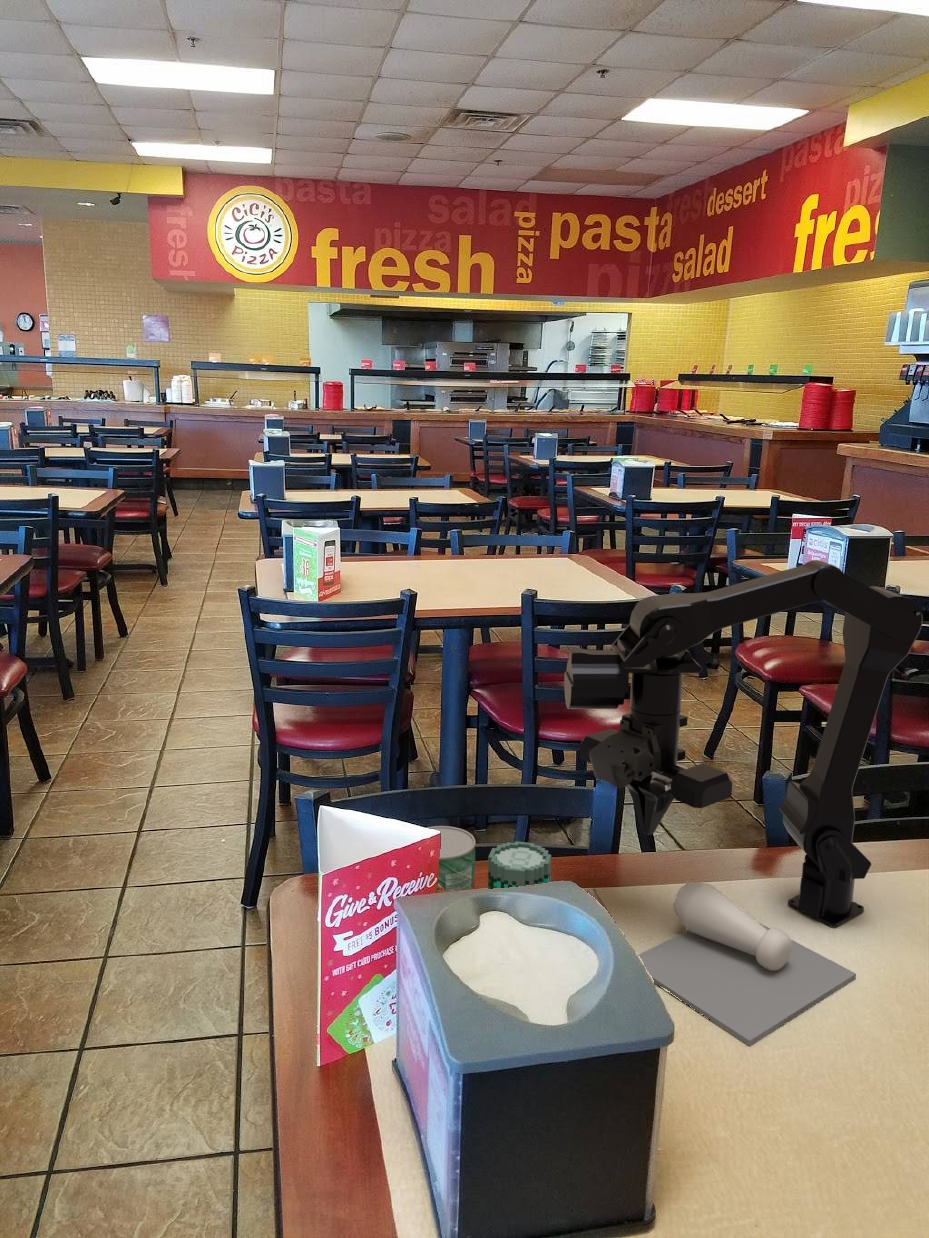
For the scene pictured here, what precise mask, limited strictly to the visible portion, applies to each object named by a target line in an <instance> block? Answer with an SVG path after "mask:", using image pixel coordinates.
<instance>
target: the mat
mask: <svg viewBox="0 0 929 1238" xmlns="http://www.w3.org/2000/svg"><path fill="white" fill-rule="evenodd" d="M757 922H758V923H759V924H761V925H762V926H763V927H764V928H766V929H767V930H769V929H771V928H770V927H768V926H767V925H764V924H762V923H760V922H759V921H757ZM791 941H792V950H791V953H790V956H789V958H788V960H787V962H786V963H785V965H784V966H783V967H782V968H780V969H779V970H776V971H770V970H768V969H765V968H764V967H762V966H761V965H760V964H759V963H758V961H757V960H756V956H754V955H751V954H748V953H746V952H743V951H740V950H738V949H735V948H732V947H729V946H727V945H724V944H721V943H718V942H716V941H713V940H710V939H708V938H705V937H702V936H699V935H697V934H694V933H691V932H689V931H688V930H686V931H684V932H681V933H680V934H678V935H676V936H673V937H672V938H670V939H667V940H665V941H664V942H661V943H660V944H658V945H655V946H653V947H652V948H649V949H647V950H645V951H643V952H641V953H639V954H637V955H638V956H640V958H641V959H642V961H643V963H644V966H645V967H646V969H647V971H648V972H649V974H650V975H651V976H652V978H653V980H654V983H653V984H654V985H656V986H657V987H659V986H661V987H663V988H665V989H667V990H668V991H670V993H672V994H673V995H675V996H676V997H678V998H679V999H680V1000H682V1001H683V1002H684V1003H686V1004H687V1005H689V1006H691V1007H692V1008H693V1009H695V1010H696V1011H695V1010H694V1011H695V1012H696V1013H698V1012H699V1013H698V1014H700V1015H701V1014H703V1015H704V1016H705V1017H704V1016H703V1015H702V1016H703V1017H704V1018H706V1017H707V1018H708V1019H707V1018H706V1019H707V1020H709V1019H710V1020H709V1021H711V1022H712V1023H713V1024H715V1025H716V1026H718V1027H719V1028H721V1029H723V1031H726V1032H727V1033H729V1034H730V1035H731V1036H733V1037H734V1038H736V1039H737V1040H738V1041H740V1042H742V1043H743V1044H745V1045H746V1046H748V1047H751V1046H752V1045H754V1044H755V1043H757V1042H759V1041H760V1040H761V1039H763V1038H765V1037H766V1036H768V1035H769V1034H771V1033H773V1032H774V1031H776V1030H778V1029H779V1028H780V1027H782V1026H783V1025H785V1024H787V1023H788V1022H790V1021H792V1020H793V1019H795V1018H796V1017H797V1016H799V1015H801V1014H802V1013H804V1012H805V1011H807V1010H809V1009H810V1008H812V1007H813V1006H816V1005H817V1004H818V1003H819V1002H821V1001H823V1000H824V999H826V998H827V997H829V996H830V995H832V994H834V993H835V992H837V991H838V990H840V989H841V988H843V987H844V986H846V985H848V984H849V983H851V982H853V981H854V980H856V977H857V973H856V972H854V971H852V970H850V969H848V968H846V967H844V966H842V965H841V964H838V963H836V962H835V961H833V960H831V959H829V958H828V957H825V956H823V955H822V954H819V953H818V952H816V951H814V950H812V949H810V948H808V947H806V946H805V945H802V944H800V943H798V942H797V941H795V940H793V939H791ZM657 984H658V985H659V986H658V985H657ZM680 1000H679V1001H680ZM683 1002H682V1003H683ZM684 1003H683V1004H684ZM686 1004H685V1005H686ZM687 1005H686V1006H687ZM689 1006H688V1007H689ZM692 1008H691V1009H692Z"/></svg>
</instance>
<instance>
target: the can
mask: <svg viewBox="0 0 929 1238" xmlns="http://www.w3.org/2000/svg"><path fill="white" fill-rule="evenodd" d="M535 844H536V843H533V842H526V841H525V842H523V841H517V840H516V841H515V842H508V841H507V842H506V843H502V844H497V846H496V847H492V848H491V851H490V853H489V855H488V858H487V860H488V861H487V865H488V866H487V867H488V869H487V874H488V875H487V887H488V888H487V890H488V889H493V888H509V887H518V886H526V885H534V884H542V883H548V882H551V883H552V880H551V875H552V874H551V873H552V854H549V850H548V849H546V848H545V847H543V846H542V845H535Z"/></svg>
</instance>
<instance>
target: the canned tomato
mask: <svg viewBox="0 0 929 1238" xmlns="http://www.w3.org/2000/svg"><path fill="white" fill-rule="evenodd" d="M426 828H429V829H436V830H439V831H440V833H441V849H440V857H439V877H438V886H437V889H436V892H448V891H457V890H467V889H475V890H476V843H477V842H476V839H475V837H474V835H473V834H472V833H470V832H469V831H467V830H465V829H463V828H458V827H455V826H448V825H435V826H427V827H426Z"/></svg>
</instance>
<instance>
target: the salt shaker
mask: <svg viewBox="0 0 929 1238" xmlns="http://www.w3.org/2000/svg"><path fill="white" fill-rule="evenodd" d="M672 907H673V910H674V914H675V916H676V917H677V919H678V920H679V921H680V923H681V924H682V925H683V927H684V928H685V929H686V931H689V932H691V933H694V934H697V935H699V936H702V937H705V938H708V939H710V940H713V941H716V942H718V943H721V944H724V945H727V946H729V947H732V948H735V949H738V950H740V951H743V952H746V953H748V954H751V955H754V956H756V960H757V961H758V963H759V964H760V965H761V966H762V967H764V968H765V969H768V970H770V971H776V970H779V969H780V968H782V967H783V966H784V965H785V963H786V962H787V960H788V958H789V956H790V953H791V950H792V941H791V940H792V939H791V937H790V935H789V934H788V933H786V932H785V931H783V930H781V929H779V928H775V927H771V928H770V929H769V930H767V929H766V928H764V927H763V926H762V925H761V924H762V923H761V924H759V923H760V922H759V921H757V920H756V919H755V918H754V917H752V916H751V915H750V914H749V913H747V912H746V911H745V910H743V909H742V908H741V907H740V906H739V905H737V903H735V902H734V901H733V900H731V899H730V898H729V897H728V896H727V895H726V894H725V893H723V892H722V891H720V890H719V888H717V887H715V885H712V884H709V883H705V882H704V883H703V882H696V881H687V882H686V883H685V884H684V885H683V886H681V887H680V888H679V889H678V891H677V892H676V895H675V898H674V901H673V903H672ZM758 922H759V923H758Z"/></svg>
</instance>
